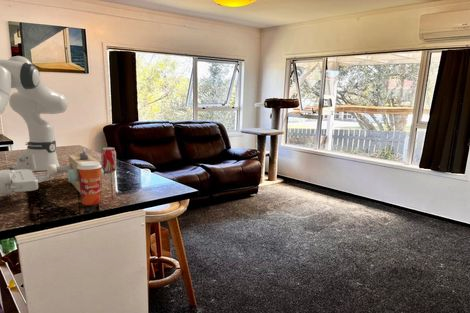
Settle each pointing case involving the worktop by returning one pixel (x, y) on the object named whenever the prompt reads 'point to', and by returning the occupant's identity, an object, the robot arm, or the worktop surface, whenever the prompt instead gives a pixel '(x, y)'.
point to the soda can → (108, 159)
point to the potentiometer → (83, 155)
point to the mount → (74, 162)
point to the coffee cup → (89, 182)
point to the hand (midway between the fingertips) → (48, 177)
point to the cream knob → (57, 169)
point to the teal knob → (75, 175)
